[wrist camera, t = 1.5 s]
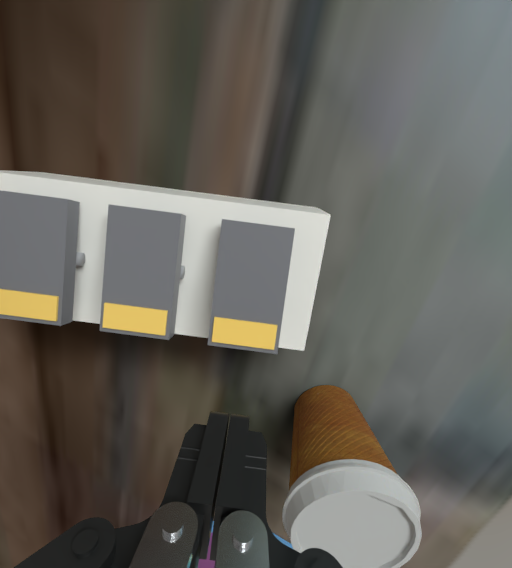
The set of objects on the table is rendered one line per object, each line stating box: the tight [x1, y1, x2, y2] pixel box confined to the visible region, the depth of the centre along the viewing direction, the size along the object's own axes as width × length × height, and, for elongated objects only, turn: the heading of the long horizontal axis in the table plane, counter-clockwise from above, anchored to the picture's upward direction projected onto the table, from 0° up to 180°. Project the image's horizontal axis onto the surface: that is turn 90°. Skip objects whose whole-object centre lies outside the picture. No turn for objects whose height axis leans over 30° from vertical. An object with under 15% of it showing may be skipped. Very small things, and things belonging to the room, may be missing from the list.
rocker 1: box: [0, 190, 80, 326], centre depth 20 cm, size 8×4×1 cm, turn 173°
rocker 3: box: [208, 219, 295, 354], centre depth 20 cm, size 8×4×1 cm, turn 173°
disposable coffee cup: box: [282, 385, 422, 568], centre depth 26 cm, size 10×10×12 cm
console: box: [0, 170, 331, 351], centre depth 24 cm, size 10×23×7 cm, turn 83°
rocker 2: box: [100, 204, 186, 340], centre depth 20 cm, size 8×4×1 cm, turn 173°
